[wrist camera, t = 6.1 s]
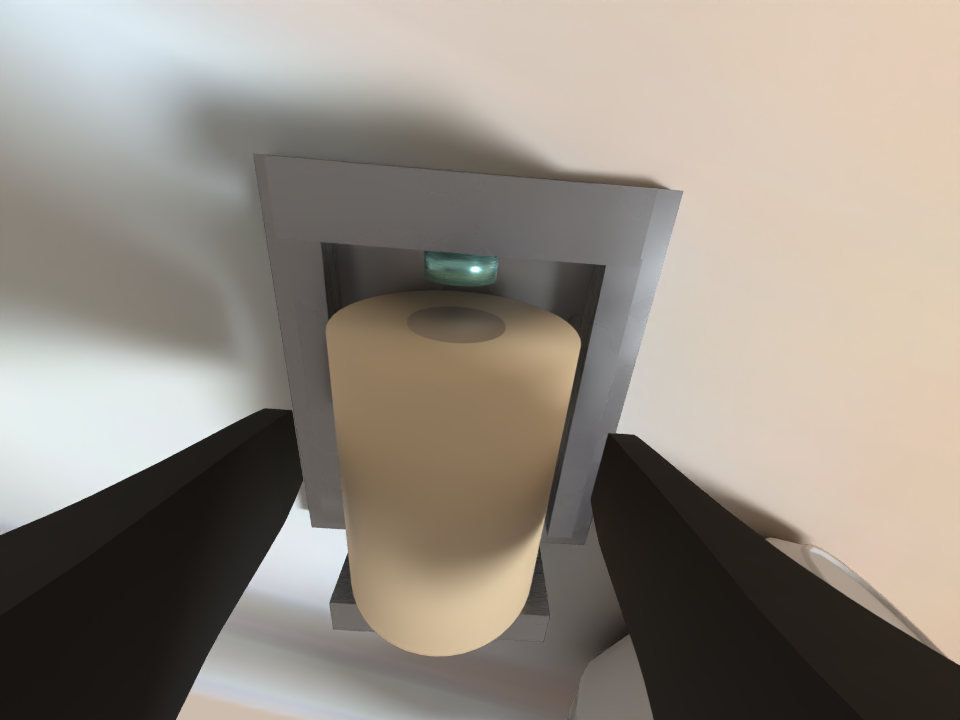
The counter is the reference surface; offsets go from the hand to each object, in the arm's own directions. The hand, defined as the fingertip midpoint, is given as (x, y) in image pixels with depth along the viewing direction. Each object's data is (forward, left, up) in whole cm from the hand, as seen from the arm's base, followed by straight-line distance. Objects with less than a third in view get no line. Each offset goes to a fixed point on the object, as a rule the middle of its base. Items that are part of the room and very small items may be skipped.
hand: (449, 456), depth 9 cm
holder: (0, 0, -3) cm, 3 cm away
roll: (0, +1, -2) cm, 3 cm away
